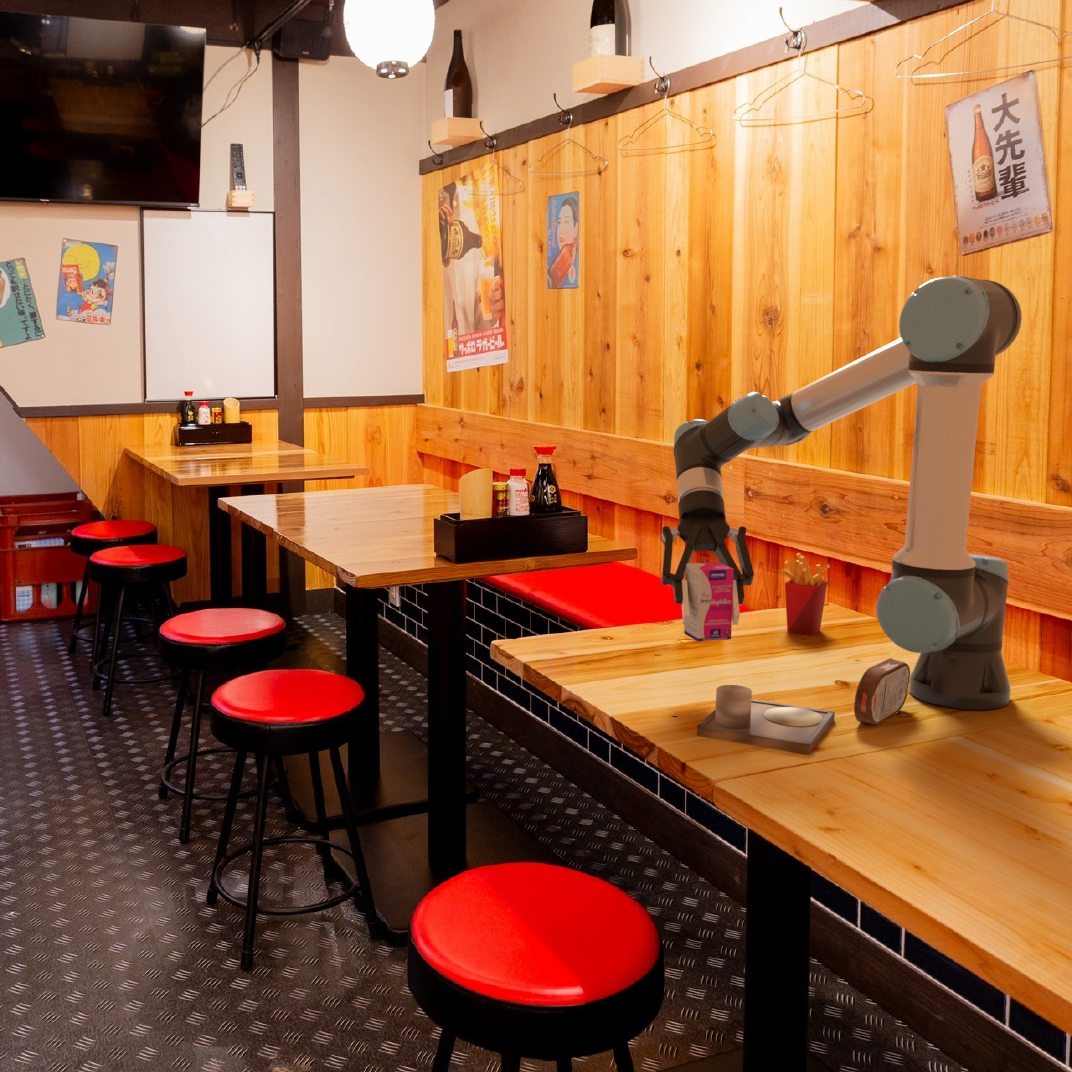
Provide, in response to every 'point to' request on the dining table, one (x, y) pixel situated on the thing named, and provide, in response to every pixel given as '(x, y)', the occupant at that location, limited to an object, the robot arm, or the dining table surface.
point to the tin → (881, 691)
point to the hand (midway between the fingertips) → (711, 619)
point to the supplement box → (709, 601)
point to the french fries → (804, 596)
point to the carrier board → (764, 721)
